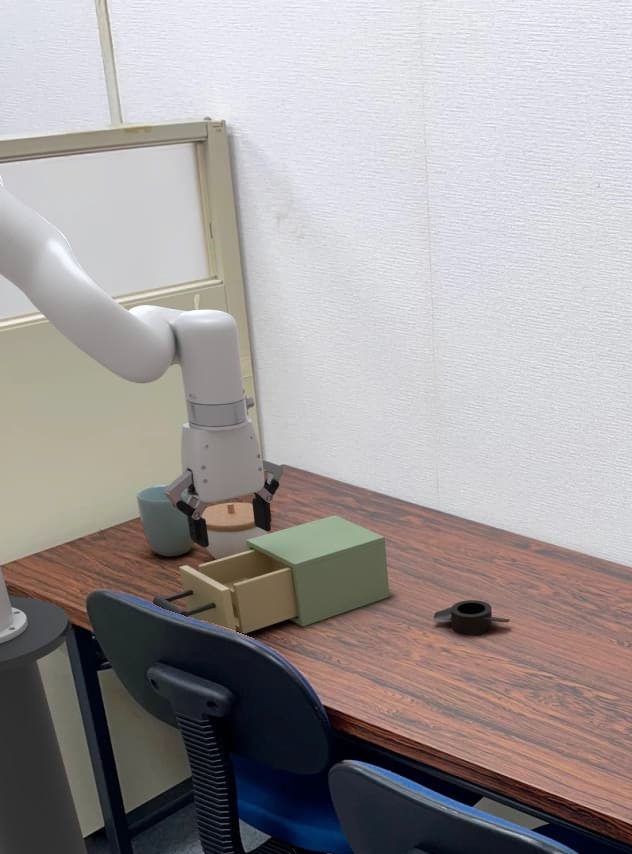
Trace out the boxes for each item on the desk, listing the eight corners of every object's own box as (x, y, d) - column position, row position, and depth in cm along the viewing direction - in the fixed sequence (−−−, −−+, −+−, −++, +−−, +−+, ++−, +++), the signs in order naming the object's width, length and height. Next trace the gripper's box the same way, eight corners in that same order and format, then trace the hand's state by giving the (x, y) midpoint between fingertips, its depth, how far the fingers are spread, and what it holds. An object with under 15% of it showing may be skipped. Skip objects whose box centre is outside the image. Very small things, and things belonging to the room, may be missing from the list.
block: (239, 619, 168) (235, 593, 166) (224, 611, 171) (220, 585, 169) (264, 611, 171) (260, 585, 169) (249, 603, 173) (245, 577, 171)
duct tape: (467, 608, 178) (466, 590, 176) (515, 628, 172) (514, 610, 171) (428, 624, 173) (427, 606, 171) (476, 645, 167) (476, 627, 166)
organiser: (302, 626, 171) (294, 564, 166) (254, 600, 179) (245, 539, 174) (389, 596, 181) (384, 536, 176) (341, 573, 188) (334, 514, 183)
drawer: (193, 655, 161) (183, 602, 157) (151, 629, 168) (140, 577, 163) (318, 613, 173) (312, 562, 169) (275, 590, 180) (268, 541, 176)
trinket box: (273, 545, 197) (265, 490, 192) (272, 570, 189) (264, 513, 184) (206, 549, 195) (196, 494, 190) (202, 574, 187) (192, 517, 182)
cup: (171, 564, 190) (159, 504, 184) (137, 554, 193) (125, 494, 188) (208, 550, 195) (198, 490, 190) (175, 540, 199) (164, 481, 193)
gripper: (259, 395, 163) (271, 515, 173) (141, 416, 153) (161, 542, 162) (290, 407, 159) (301, 530, 168) (170, 429, 148) (189, 559, 158)
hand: (232, 536), depth 165 cm, fingers open, 9 cm apart
